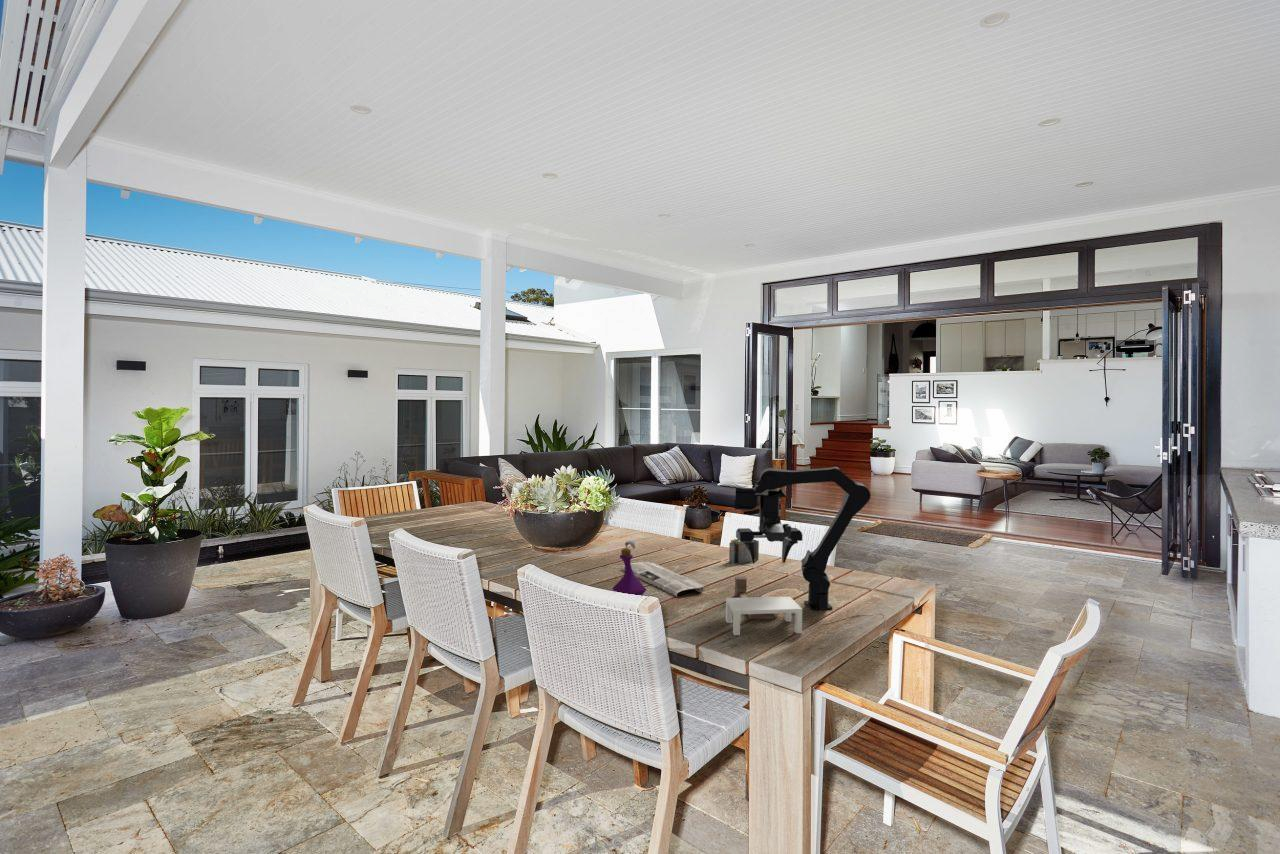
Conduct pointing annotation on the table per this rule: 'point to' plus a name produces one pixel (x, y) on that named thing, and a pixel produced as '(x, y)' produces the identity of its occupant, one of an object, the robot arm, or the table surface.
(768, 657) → the table surface
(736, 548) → the ruin model on sheet
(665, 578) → the newspaper
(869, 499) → the robot arm
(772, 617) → the tan post with foot
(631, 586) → the perfume bottle
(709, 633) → the table surface
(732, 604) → the low shelf
